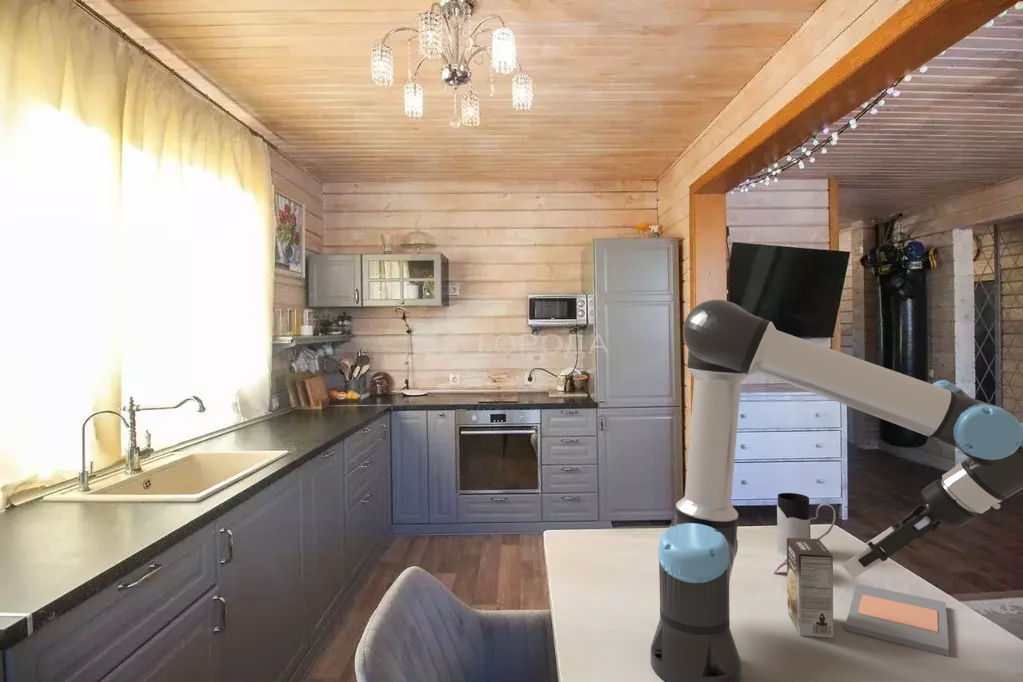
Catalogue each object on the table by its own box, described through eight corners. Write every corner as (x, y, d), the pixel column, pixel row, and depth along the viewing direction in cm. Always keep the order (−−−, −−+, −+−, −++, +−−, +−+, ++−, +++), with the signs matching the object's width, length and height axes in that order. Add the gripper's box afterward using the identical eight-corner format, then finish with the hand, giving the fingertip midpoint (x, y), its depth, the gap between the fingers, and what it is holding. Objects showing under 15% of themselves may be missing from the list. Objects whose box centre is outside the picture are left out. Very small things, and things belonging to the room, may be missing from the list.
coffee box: (786, 613, 118) (785, 536, 118) (819, 615, 117) (818, 538, 116) (799, 636, 109) (798, 553, 109) (835, 639, 108) (834, 555, 107)
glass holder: (774, 545, 156) (773, 491, 155) (832, 551, 151) (831, 495, 151) (777, 557, 147) (776, 499, 147) (839, 563, 143) (838, 504, 142)
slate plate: (949, 656, 101) (948, 648, 101) (845, 630, 111) (845, 623, 111) (945, 607, 119) (945, 601, 119) (856, 588, 128) (856, 582, 128)
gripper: (966, 534, 85) (855, 601, 96) (990, 499, 102) (893, 559, 113) (923, 492, 89) (820, 561, 100) (953, 465, 106) (862, 527, 117)
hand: (859, 560), depth 106 cm, fingers open, 13 cm apart
